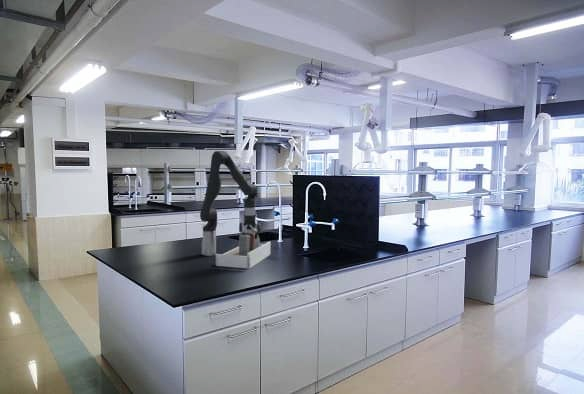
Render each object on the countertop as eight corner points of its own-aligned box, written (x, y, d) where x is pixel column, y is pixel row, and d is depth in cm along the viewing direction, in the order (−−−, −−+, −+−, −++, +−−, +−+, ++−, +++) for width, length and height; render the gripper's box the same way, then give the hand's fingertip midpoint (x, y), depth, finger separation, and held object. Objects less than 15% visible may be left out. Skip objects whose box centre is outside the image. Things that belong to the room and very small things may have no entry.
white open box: (215, 267, 230) (215, 251, 229) (241, 253, 268) (241, 239, 268) (249, 269, 224) (249, 253, 223) (270, 255, 262) (270, 241, 262)
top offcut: (229, 257, 241) (229, 254, 241) (239, 253, 255) (239, 250, 255) (237, 258, 239) (237, 255, 239) (247, 253, 253) (247, 251, 253)
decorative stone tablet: (247, 235, 229) (261, 231, 259) (238, 234, 231) (252, 231, 260) (246, 266, 229) (260, 259, 258) (236, 265, 230) (251, 258, 260)
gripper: (237, 214, 241) (237, 239, 242) (257, 215, 237) (257, 240, 239) (242, 213, 248) (242, 237, 250) (261, 214, 245) (261, 238, 246)
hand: (249, 238), depth 244 cm, fingers open, 8 cm apart
